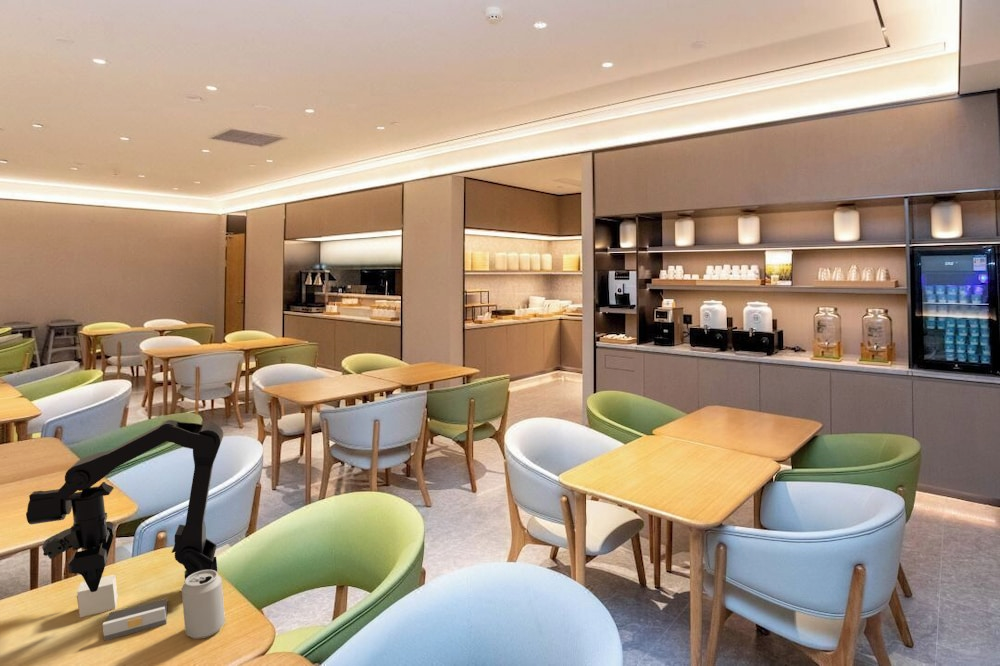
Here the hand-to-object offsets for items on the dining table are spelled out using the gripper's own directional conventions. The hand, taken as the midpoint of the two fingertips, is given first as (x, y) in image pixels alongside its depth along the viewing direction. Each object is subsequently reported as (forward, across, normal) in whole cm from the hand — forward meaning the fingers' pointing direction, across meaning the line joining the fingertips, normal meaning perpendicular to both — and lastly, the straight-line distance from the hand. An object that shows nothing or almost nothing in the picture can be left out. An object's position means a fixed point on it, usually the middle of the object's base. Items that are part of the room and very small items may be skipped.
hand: (97, 581), depth 128 cm
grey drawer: (+6, +10, +8) cm, 14 cm away
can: (+7, +21, +21) cm, 30 cm away
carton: (+6, 0, 0) cm, 7 cm away
